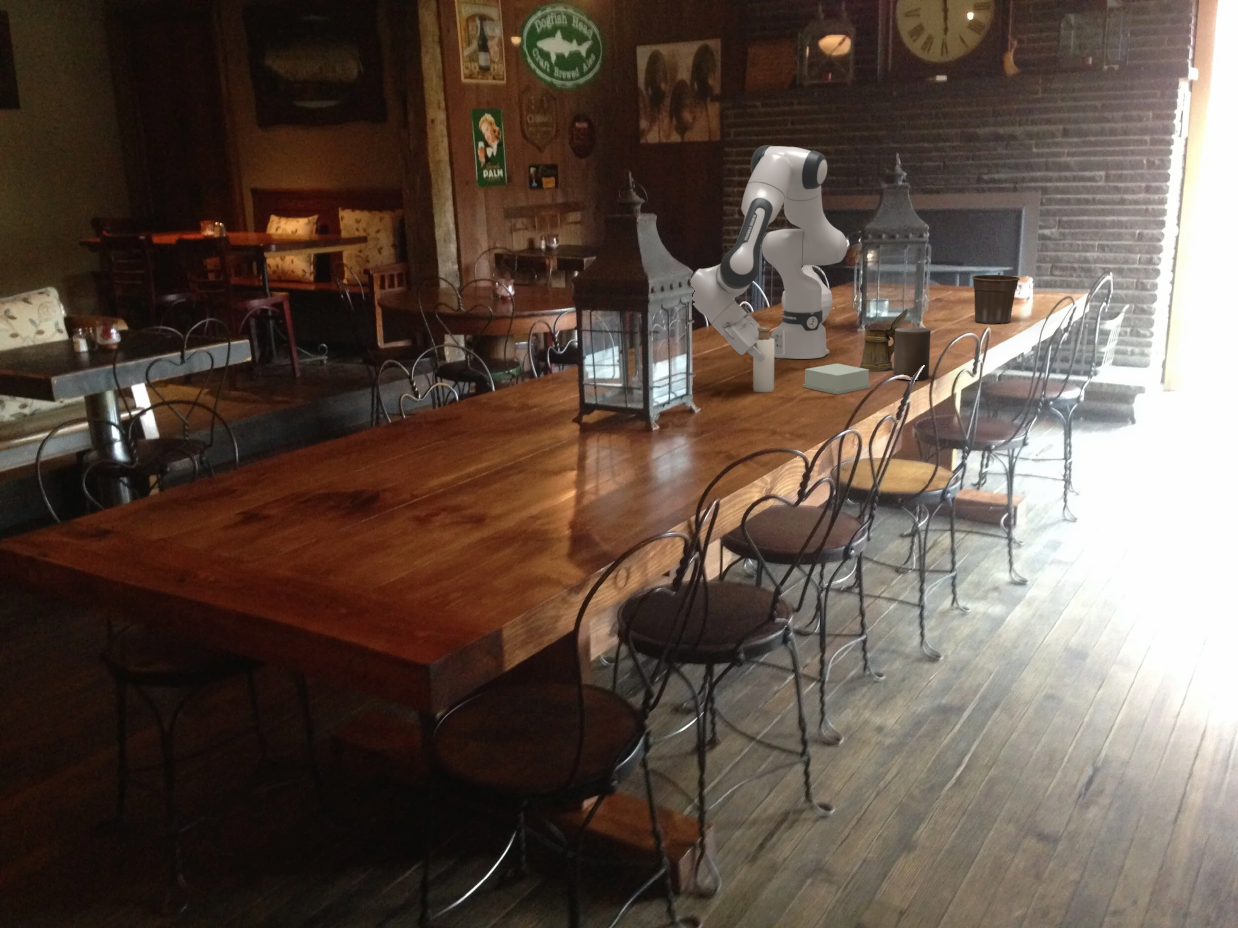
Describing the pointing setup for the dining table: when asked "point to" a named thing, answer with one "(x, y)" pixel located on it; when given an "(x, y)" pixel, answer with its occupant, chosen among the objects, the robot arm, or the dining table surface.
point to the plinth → (836, 378)
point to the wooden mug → (880, 346)
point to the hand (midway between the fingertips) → (766, 357)
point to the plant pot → (994, 298)
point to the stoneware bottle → (764, 362)
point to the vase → (826, 293)
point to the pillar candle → (912, 351)
